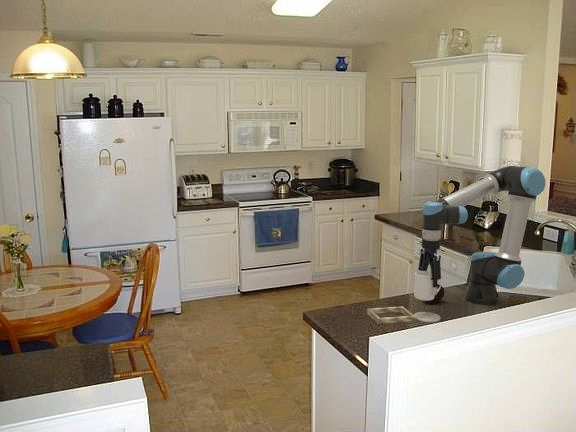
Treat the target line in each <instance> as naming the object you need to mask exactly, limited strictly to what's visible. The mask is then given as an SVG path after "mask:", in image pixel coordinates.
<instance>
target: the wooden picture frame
mask: <svg viewBox="0 0 576 432" xmlns="http://www.w3.org/2000/svg"><path fill="white" fill-rule="evenodd" d="M393 312H394V313H401V314H403V315H401V316H400V315H399V316H391V317H380V316H379V315H380V314H391V313H392V314H393ZM366 314H367V315H368V317H370V318H371V319H372V320H373V321H374V322H376V324H377V325H378V324H379V325H381V324H394V323H396V324H397V323H407V322H408V323H409V322H410V323H411V322H416V321H417V320H416V316H415V315H414V313H412V312H411V311H409V310H408V309H407V308H405V306H388V307H387V306H386V307H374V308H372V307H371V308H366ZM378 314H379V315H378Z"/></svg>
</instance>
